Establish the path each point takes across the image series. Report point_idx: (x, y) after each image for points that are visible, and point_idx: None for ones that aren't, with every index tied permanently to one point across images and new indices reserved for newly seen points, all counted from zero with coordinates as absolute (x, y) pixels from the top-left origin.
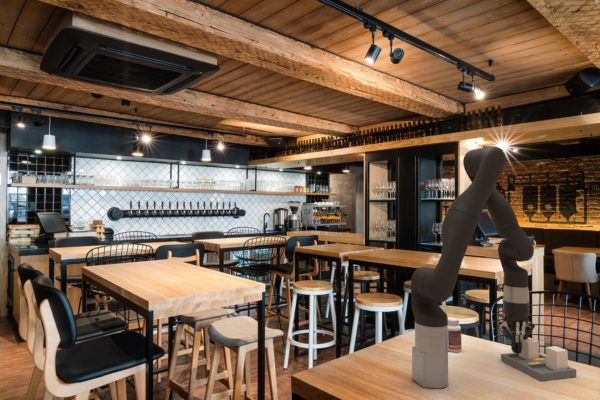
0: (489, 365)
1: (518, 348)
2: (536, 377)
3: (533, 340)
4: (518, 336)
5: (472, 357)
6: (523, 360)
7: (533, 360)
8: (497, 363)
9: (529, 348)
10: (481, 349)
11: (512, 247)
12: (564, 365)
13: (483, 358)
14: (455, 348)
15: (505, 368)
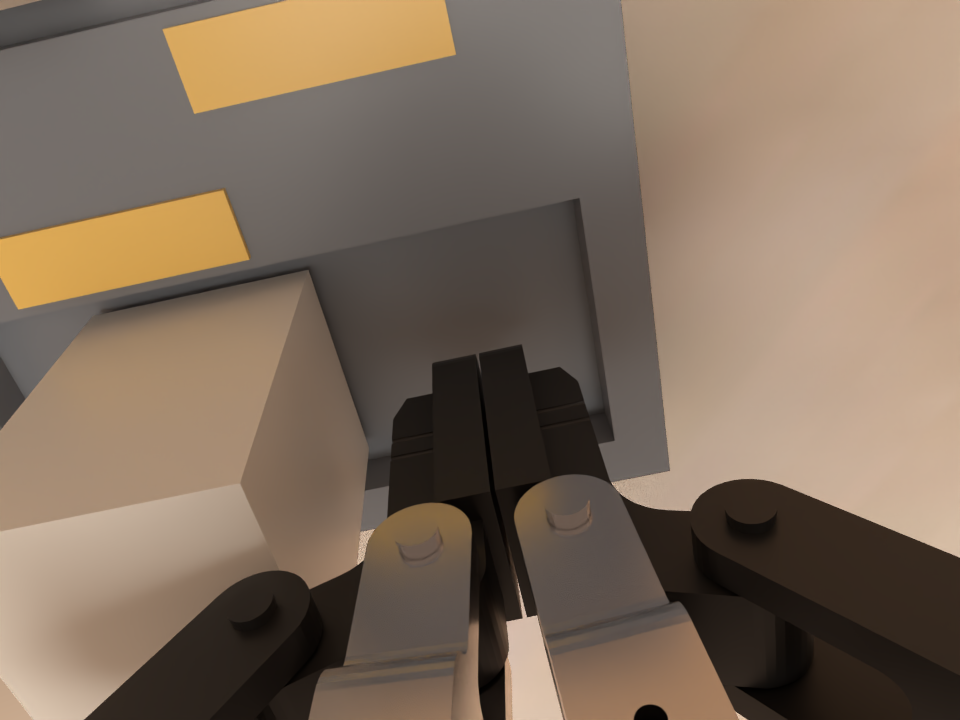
0: (941, 251)
1: (502, 399)
2: None
3: (35, 597)
4: (537, 610)
5: (950, 507)
6: (454, 202)
7: (253, 200)
8: (762, 322)
9: (246, 390)
10: None
11: None
12: None
13: (830, 480)
14: None
15: (779, 130)
